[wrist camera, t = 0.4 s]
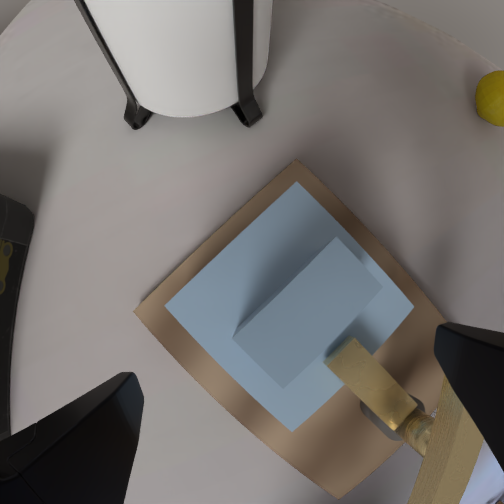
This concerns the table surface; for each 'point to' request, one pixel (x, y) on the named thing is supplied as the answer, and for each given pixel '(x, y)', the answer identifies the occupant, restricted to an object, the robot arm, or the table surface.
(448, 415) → the quarter turn key
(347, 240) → the lid
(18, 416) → the table surface
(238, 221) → the latch base
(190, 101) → the coffee press
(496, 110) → the fruit
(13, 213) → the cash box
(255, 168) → the table surface
